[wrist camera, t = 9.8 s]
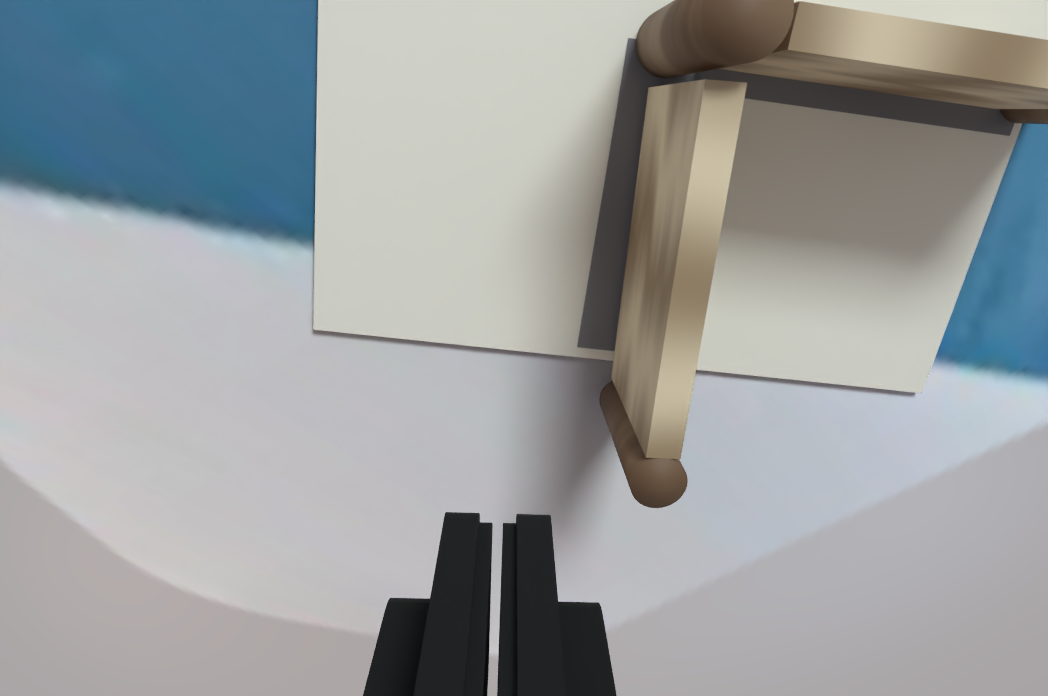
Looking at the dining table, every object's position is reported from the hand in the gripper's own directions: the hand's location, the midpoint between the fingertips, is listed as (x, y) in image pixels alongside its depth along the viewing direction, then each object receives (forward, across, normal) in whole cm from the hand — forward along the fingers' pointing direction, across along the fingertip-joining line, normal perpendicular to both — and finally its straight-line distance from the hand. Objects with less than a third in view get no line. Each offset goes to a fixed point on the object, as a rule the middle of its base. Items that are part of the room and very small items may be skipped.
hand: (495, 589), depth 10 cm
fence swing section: (+18, -5, -1) cm, 19 cm away
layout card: (+19, -6, -6) cm, 21 cm away
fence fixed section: (+19, -13, -9) cm, 25 cm away
